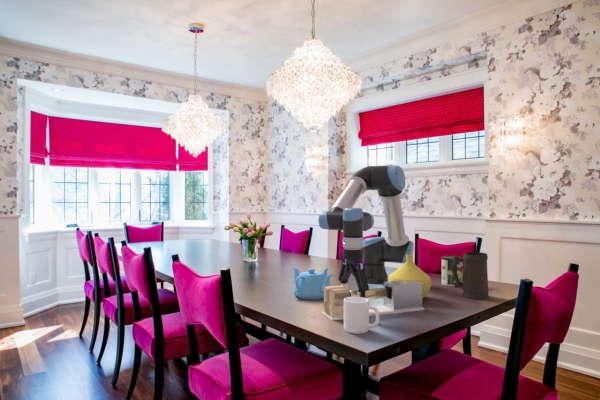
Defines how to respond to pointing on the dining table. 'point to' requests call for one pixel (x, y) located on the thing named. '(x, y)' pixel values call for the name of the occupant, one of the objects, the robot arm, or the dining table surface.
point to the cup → (358, 315)
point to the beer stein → (472, 275)
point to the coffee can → (450, 271)
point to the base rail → (381, 310)
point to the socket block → (335, 300)
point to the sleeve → (403, 294)
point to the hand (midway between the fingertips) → (352, 304)
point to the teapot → (311, 284)
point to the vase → (412, 275)
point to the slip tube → (371, 293)
